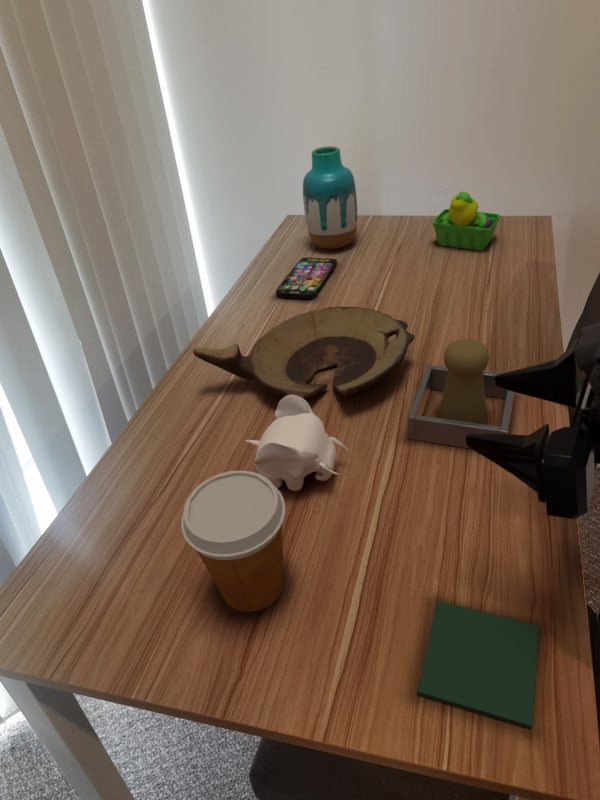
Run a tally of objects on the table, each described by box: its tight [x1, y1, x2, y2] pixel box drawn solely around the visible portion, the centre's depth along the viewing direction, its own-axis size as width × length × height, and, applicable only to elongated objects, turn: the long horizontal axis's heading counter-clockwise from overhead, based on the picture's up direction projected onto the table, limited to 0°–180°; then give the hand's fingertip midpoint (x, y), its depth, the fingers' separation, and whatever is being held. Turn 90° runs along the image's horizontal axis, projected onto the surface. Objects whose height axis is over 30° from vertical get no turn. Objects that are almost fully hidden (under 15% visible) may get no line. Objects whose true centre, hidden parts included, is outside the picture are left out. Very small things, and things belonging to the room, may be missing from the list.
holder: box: [407, 364, 516, 450], centre depth 76 cm, size 12×12×4 cm
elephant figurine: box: [245, 395, 350, 492], centre depth 70 cm, size 10×12×9 cm
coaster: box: [416, 600, 540, 730], centre depth 52 cm, size 9×9×1 cm
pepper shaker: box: [438, 338, 490, 425], centre depth 74 cm, size 6×6×11 cm
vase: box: [302, 145, 358, 250], centre depth 119 cm, size 11×11×19 cm
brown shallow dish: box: [192, 306, 416, 399], centre depth 87 cm, size 22×30×8 cm
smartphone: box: [275, 257, 338, 300], centre depth 113 cm, size 8×1×15 cm
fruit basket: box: [431, 191, 501, 252], centre depth 115 cm, size 11×9×11 cm
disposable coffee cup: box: [180, 470, 286, 613], centre depth 57 cm, size 10×10×12 cm
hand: (481, 408), depth 54 cm, fingers open, 9 cm apart
